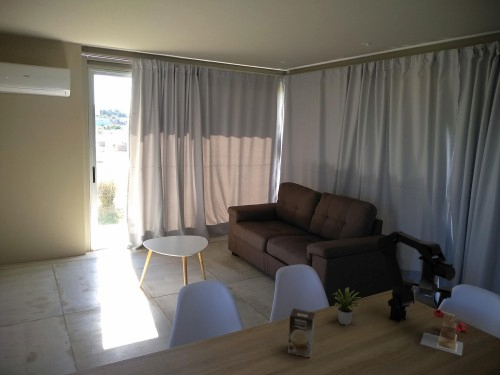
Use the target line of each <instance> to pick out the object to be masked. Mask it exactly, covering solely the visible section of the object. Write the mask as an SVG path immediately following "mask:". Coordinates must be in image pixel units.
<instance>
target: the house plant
mask: <svg viewBox="0 0 500 375" xmlns="http://www.w3.org/2000/svg"><path fill="white" fill-rule="evenodd" d="M354 292H355V290H351V292H350V287H349V286H348V287H346V288H345V291H344V293H343V292H342V291H341V290H340V289H339V288H338V291H336V292H334V293H333V294H332V293H331V295H332V296H333V295H335V296H334V299H335V300H337V301H338V302H339V303H338V302H335V303H334V307H337V306H338V307H337V317H338V323H339V322H340V323H339V324H341V325H343V324H345V325H344V326H348V324H349V325H350V324H351V323H352V322H351V321H352V317H353V314H354V309H353V307H358V308H360V306H361V304H360V303H359V302H358V301H359V299H360V298H361V297H356V296H357V295H358V294H360V292H355V293H354ZM353 293H354V294H353ZM343 294H344V295H343ZM352 294H353V295H352ZM351 295H352V296H351ZM356 301H357V302H356ZM360 301H362V302H364V300H361V299H360Z"/></svg>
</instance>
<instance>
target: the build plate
mask: <svg viewBox="0 0 500 375" xmlns="http://www.w3.org/2000/svg"><path fill="white" fill-rule="evenodd" d="M439 336H440V335H436V334H432V333H427V332H423V334H422V337H421V340H420V343H419V344H420V345H423V346H427V347H431V348H433V349H437V350H440V351H444V352H447V353H451V354H454V355H458V356H463V348H464V342H461V341H458V340H456V347H455V350H451V349H448V348H444V347H441V346H438V345H439Z"/></svg>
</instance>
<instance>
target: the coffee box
mask: <svg viewBox="0 0 500 375" xmlns="http://www.w3.org/2000/svg"><path fill="white" fill-rule="evenodd" d="M315 318H316V312H312V311H308V310H303V309H297V308H292V310H291V312H290V315H289V328H288V330H289V331H288V348H287V353H288V352H290V353H294V354H298V355H302V356H301V357H303V356H307V357H310V356H311V357H312V354H313V349H314V333H315V332H314V331H315V320H316V319H315ZM290 353H289V354H290ZM311 353H312V354H311ZM294 354H293V355H294ZM298 355H297V356H298ZM307 357H306V358H307ZM311 357H310V358H311Z"/></svg>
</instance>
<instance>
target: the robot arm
mask: <svg viewBox="0 0 500 375" xmlns="http://www.w3.org/2000/svg"><path fill="white" fill-rule="evenodd" d="M376 242H377V244H376V245H377V247H378V249H379V251H380V253H381V254H382V255H383V256H384V258H385V262H386V265H387V269H388V272H389V275H390V279H391V283H392V286H393V287H392V291H391V297H392V298H390V299H389V300H387V305H388V306H389V307H390V314H389V317H388V320H391V321H395V322H401V321H402V320H404V321H406V319H407V317H408V316H407V315H408V310H407V307H410V305H411V304H413V305H415V304H416V289H418V292H419V294H423V295H427V296H432V294H437V293H439V297H438V301H437V305H436V310H439V307H440V305H441V304H442V303H443V301H444V300H448V299H451V298H452V294H453V288H452V287H449V286H446V285H441V287H438V286H439V285H438V284H437V283H436V278H437V277H439V278H441V279H443V280H446V281H448V282H449V281H453V279H455V277H456V269H455V267H453V266H454V265H453V263H450V262H446V261H447V259H446V257H445V255H444V252H443V250H442V249H441V245H440V244H439V243H436V242H433V241H425V240H421V239H419V238H417V237H414V236H412V235H410V234H407V233H405V232H403V231H402V230H398V231H393V232H391V233H389V234H388V235H385V236H383V237H379V239H377V241H376ZM400 243H401V244H404V245H405V246H408V247H410V248H412V249H414V250H416V251H417V253H418V254H420V256H419V257H418V258H417V259H418V260H421V261H422V263H421V273H420V280H419V283H418V282H416V280H415V279H411V278H408V277H407V278H405V279H403V275H402V273H401V269H400V266H399V262H398V259H397V254H396V253H397V251H398V246H397V245H398V244H400Z"/></svg>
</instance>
